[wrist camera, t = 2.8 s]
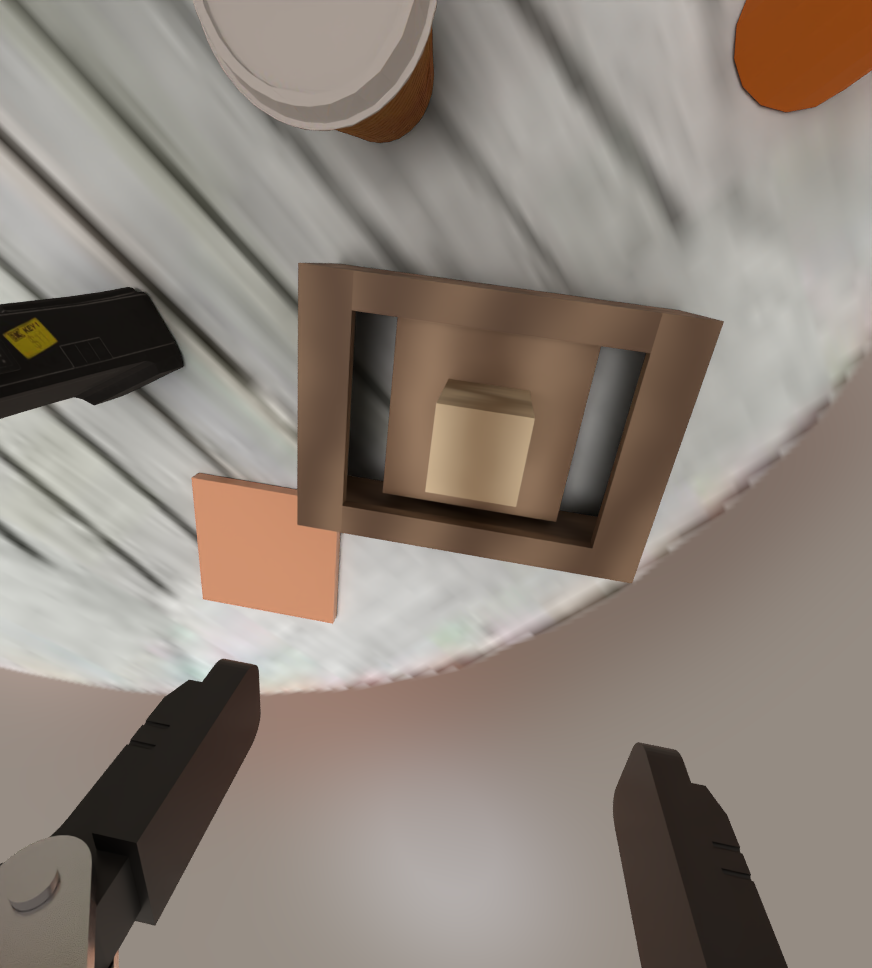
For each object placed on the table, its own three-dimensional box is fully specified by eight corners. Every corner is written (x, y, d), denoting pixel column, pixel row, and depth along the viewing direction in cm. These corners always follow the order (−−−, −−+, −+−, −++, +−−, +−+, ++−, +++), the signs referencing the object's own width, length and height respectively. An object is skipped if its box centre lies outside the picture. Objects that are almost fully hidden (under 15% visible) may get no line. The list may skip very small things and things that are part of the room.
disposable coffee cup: (474, 154, 29) (455, 86, 18) (322, 190, 31) (221, 148, 20) (447, -62, 25) (403, -310, 14) (277, -7, 27) (123, -191, 16)
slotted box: (330, 483, 39) (297, 524, 33) (338, 263, 32) (298, 262, 26) (610, 531, 37) (632, 583, 31) (680, 310, 31) (723, 321, 25)
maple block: (438, 454, 32) (425, 491, 27) (448, 378, 30) (436, 403, 25) (514, 466, 32) (515, 506, 27) (529, 390, 30) (534, 418, 24)
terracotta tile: (209, 592, 45) (203, 599, 44) (198, 472, 40) (191, 477, 39) (336, 616, 44) (332, 623, 43) (342, 497, 39) (338, 502, 38)
